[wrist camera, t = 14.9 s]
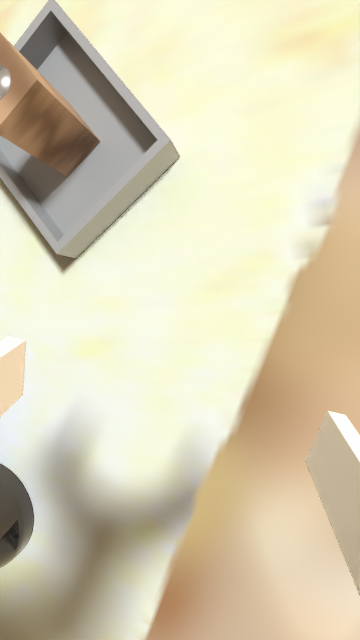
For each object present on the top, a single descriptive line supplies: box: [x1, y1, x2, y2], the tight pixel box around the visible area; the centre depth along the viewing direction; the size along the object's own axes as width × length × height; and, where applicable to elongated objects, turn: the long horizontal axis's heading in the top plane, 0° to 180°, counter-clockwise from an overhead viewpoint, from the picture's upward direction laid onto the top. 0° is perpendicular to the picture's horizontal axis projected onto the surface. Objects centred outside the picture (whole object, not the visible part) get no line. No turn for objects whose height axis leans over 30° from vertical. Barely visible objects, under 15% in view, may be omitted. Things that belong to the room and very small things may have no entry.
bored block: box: [0, 33, 101, 177], centre depth 33 cm, size 6×6×11 cm
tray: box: [0, 0, 180, 258], centre depth 38 cm, size 18×22×4 cm
